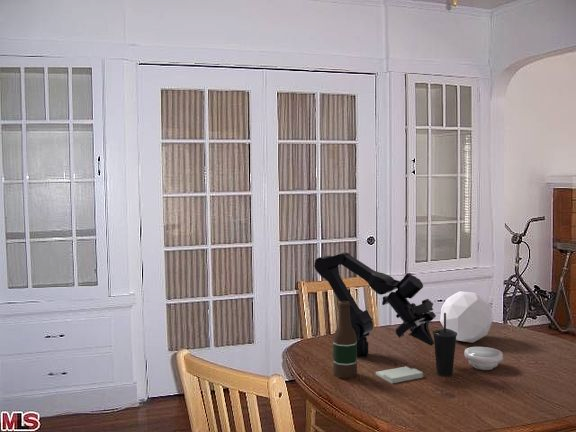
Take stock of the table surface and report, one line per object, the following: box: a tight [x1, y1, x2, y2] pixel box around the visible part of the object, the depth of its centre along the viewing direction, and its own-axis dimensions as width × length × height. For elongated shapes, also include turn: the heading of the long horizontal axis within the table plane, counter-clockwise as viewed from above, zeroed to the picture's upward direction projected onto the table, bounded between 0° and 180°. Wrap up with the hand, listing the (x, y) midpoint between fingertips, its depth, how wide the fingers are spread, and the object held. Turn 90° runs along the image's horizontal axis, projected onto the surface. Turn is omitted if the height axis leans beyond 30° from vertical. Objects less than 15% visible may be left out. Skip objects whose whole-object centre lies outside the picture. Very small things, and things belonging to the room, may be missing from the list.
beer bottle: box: [332, 301, 358, 380], centre depth 182 cm, size 8×8×24 cm
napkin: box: [375, 366, 424, 384], centre depth 181 cm, size 12×9×2 cm
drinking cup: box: [432, 313, 457, 377], centre depth 181 cm, size 8×8×20 cm
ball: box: [439, 290, 494, 343], centre depth 217 cm, size 19×20×20 cm
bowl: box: [464, 346, 504, 371], centre depth 188 cm, size 12×12×5 cm
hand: (432, 344), depth 184 cm, fingers closed
